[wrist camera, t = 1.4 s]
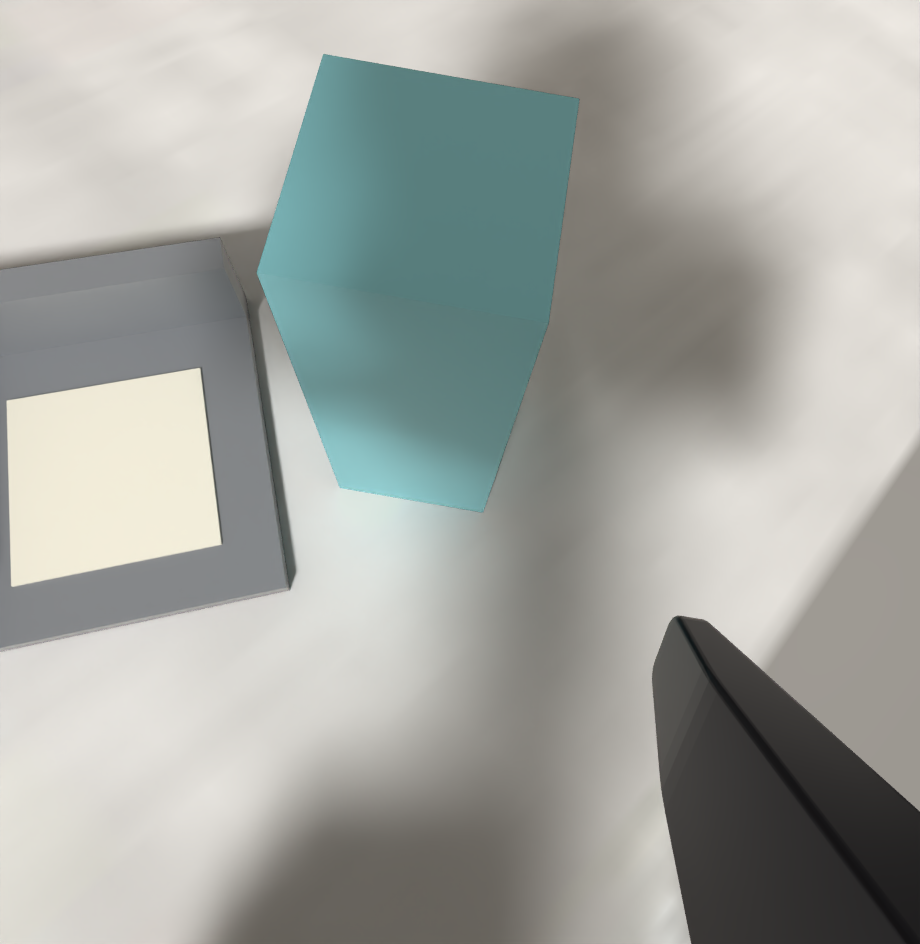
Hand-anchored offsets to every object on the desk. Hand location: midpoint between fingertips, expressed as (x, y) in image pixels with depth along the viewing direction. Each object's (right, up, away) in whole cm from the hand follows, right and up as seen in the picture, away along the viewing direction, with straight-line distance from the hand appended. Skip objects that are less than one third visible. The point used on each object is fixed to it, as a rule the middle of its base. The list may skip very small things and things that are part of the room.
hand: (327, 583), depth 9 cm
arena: (-10, +1, +14) cm, 17 cm away
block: (0, +3, +15) cm, 16 cm away
